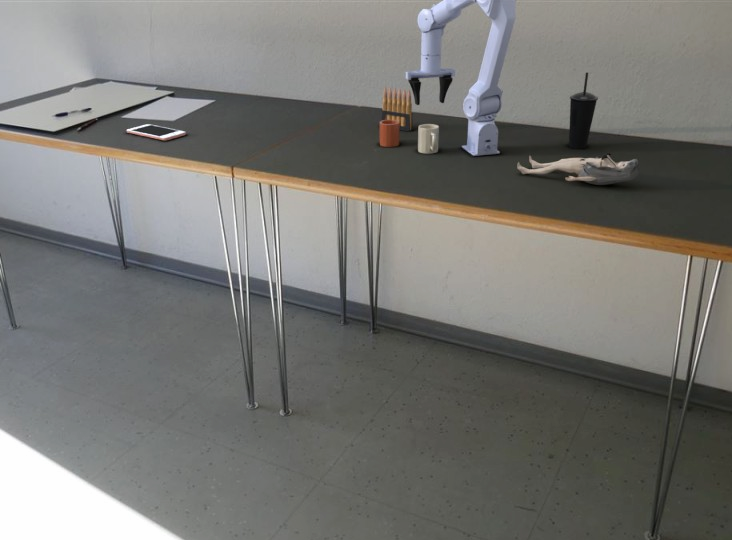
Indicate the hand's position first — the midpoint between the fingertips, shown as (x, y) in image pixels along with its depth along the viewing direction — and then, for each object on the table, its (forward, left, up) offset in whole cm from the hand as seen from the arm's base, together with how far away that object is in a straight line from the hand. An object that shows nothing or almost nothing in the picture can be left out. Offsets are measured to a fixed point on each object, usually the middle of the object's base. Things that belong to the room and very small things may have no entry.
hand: (429, 103), depth 238 cm
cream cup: (-17, +6, -9) cm, 20 cm away
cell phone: (+28, +80, -9) cm, 85 cm away
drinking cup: (-25, -36, -10) cm, 45 cm away
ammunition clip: (+11, +7, -10) cm, 16 cm away
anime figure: (-53, -21, -10) cm, 58 cm away
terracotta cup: (-5, +14, -9) cm, 18 cm away
